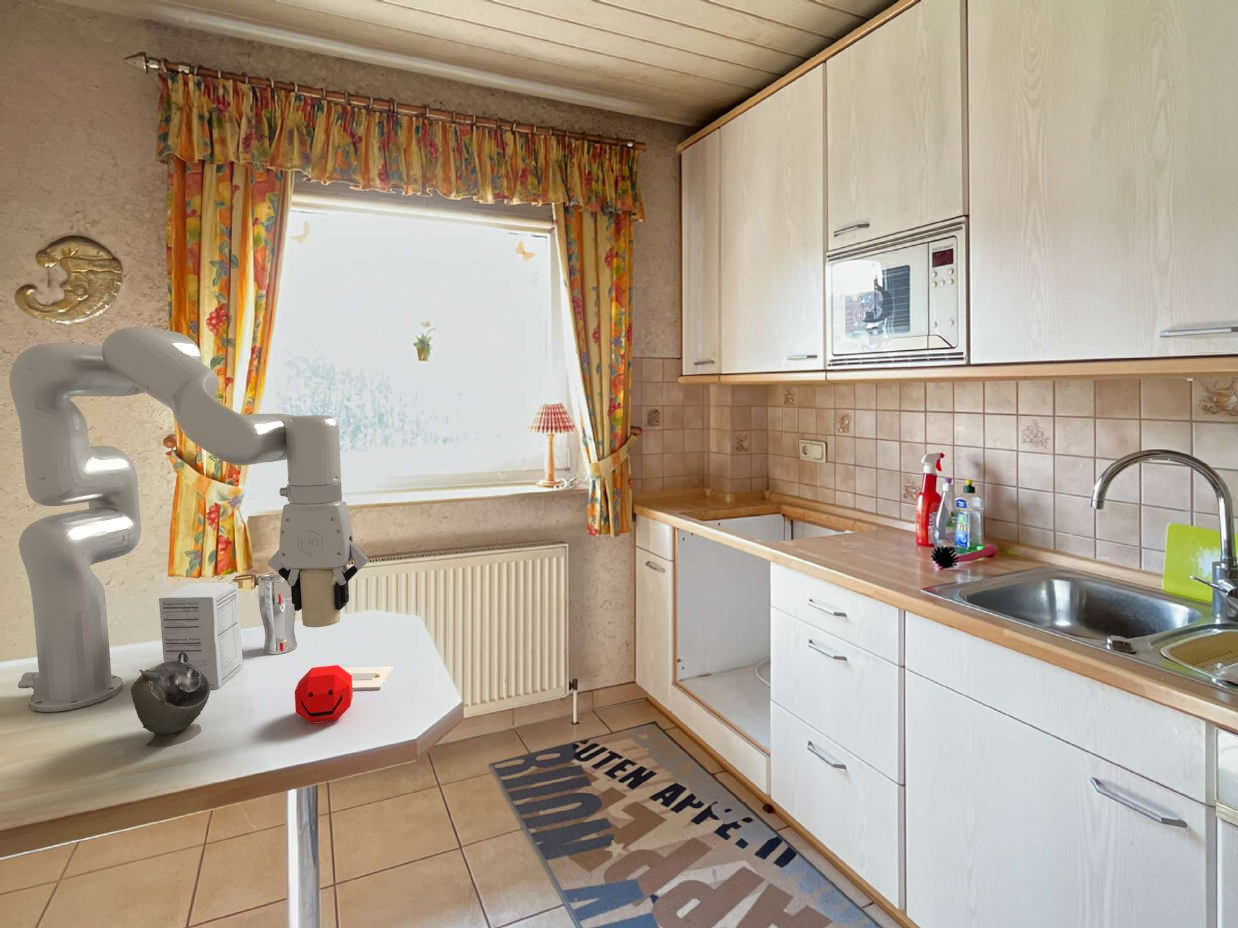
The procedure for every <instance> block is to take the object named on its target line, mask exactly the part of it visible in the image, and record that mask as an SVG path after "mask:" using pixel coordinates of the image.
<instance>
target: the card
mask: <svg viewBox="0 0 1238 928" xmlns="http://www.w3.org/2000/svg"><path fill="white" fill-rule="evenodd" d="M341 668H342V669H344V670H345V671H346V672H348V673H349V674H350V675H352V691H372V690H373V691H375V690H376V691H377V690H382V688H383V687H384V685H385V683H386V681H387V680H388V679H389V677H390V676H391V674H392V673H393V671H394V670H395V666H394V665H393V666H363V667H362V666H359V667H357V666H356V667H355V666H353V667H352V666H350V667H341Z"/></svg>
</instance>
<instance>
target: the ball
mask: <svg viewBox="0 0 1238 928" xmlns="http://www.w3.org/2000/svg"><path fill="white" fill-rule="evenodd" d="M342 668H343V667H342V666H340V665H339V664H335V665H326V666H323V665H322V666H315V667H311V668H310V669H309V670H308V672H306V673H305V674H304V675H303V676H302V678H301V679H299V681H298V683H297V685H296V688H295V690H294V704H295V705H294V707H295V710H294V711H295V713H296V714H297V716H298V715H299V716H300V717H301V718H302V719H304V720H305V721H306V722H307V723H309V724H310V725H311V724H319V723H326V722H334V721H336V722H337V721H338V720H339V719H340V718H341V717H342V716H343V715H344V714H345V713H346V711H348V710H349V708H350V707H351V705H352V700H353V696H354V694H353V693H354V692H353V691H354V690H352V675H350V674H349V673H348V672H346V671H345V670H344V669H342Z"/></svg>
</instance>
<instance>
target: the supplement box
mask: <svg viewBox="0 0 1238 928" xmlns="http://www.w3.org/2000/svg"><path fill="white" fill-rule="evenodd" d="M239 593H240V592H239V583H238V582H189V583H187V584H184V585H183V586H180V587H179V588H176V589H175V590H173V591H171V592H169V593H167V594H164V595H163V596H161V597H159V599H158V604H159V615H160V616H159V617H160V630H161V631H160V632H161V642H162V643H161V644H162V655H163V658H162V659H163V663H164V662H168V661H173V660H178V655H179V653H181V652H184V653H186V655H187V656H188V658H189V660H188V663H190V664H192V665H194V666H196V667H197V668H198V669H200V670H201V671H202V672H203V673H204V675H205V676H206V677H207V679H208V681H209V685H210V690H219V689H220V688H222V687H223V685H225V684H226V683H227V682H228V681H230V680H231V679H232V678H233V677H234V676H235V675H236V674H238V673H239V672H240V671H241V670H242V669H243V668H244V664H243V663H244V662H243V660H244V659H243V648H242V647H243V646H242V645H243V644H242V643H243V642H242V632H241V631H242V629H241V614H240V611H241V610H240V599H239V598H240V596H239Z"/></svg>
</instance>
